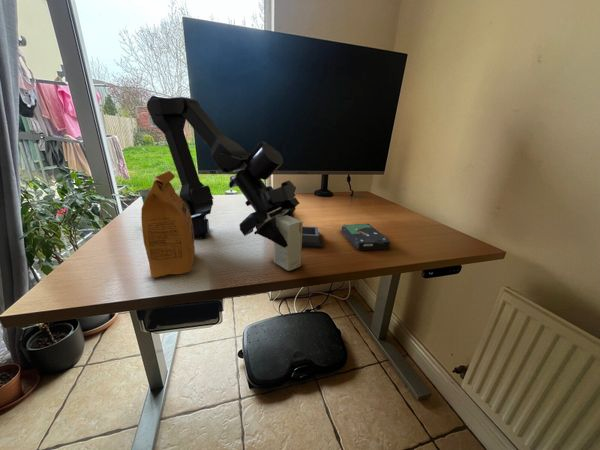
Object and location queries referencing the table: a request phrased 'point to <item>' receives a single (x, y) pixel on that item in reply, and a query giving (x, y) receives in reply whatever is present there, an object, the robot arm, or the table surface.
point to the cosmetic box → (289, 243)
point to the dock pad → (311, 237)
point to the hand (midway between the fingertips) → (292, 242)
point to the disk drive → (365, 237)
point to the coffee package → (167, 229)
